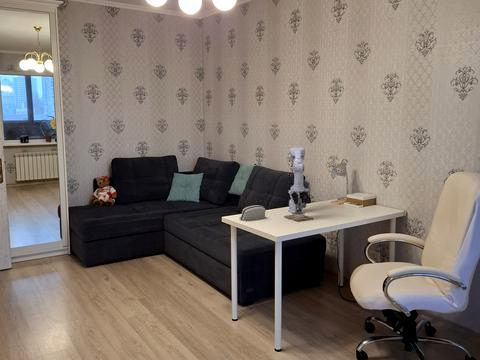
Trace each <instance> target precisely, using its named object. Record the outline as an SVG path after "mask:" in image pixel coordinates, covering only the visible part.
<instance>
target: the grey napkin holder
mask: <svg viewBox="0 0 480 360" xmlns="http://www.w3.org/2000/svg"><path fill="white" fill-rule="evenodd" d="M265 218H266V208H265V207H264V206H263V205H258V204H257V205H250V206H246V207H244V208H243V209H242V211H241V215H240V216H239V219H241V221H242V222H245V220H247V221H253V219H254V220H258V219H265Z"/></svg>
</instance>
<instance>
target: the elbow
mask: <svg viewBox="0 0 480 360" xmlns="http://www.w3.org/2000/svg"><path fill="white" fill-rule="evenodd" d="M306 207H307V203H305V202H303V203H302V198H298V201H297V205H296V204H295V211H296V212H302V208H303V209H306Z"/></svg>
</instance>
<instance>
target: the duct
mask: <svg viewBox="0 0 480 360" xmlns="http://www.w3.org/2000/svg"><path fill="white" fill-rule="evenodd" d="M291 213H292V214H290V215H289V214H288V215H284V216H283V217H284V219H287V220H290V221H293V222H298V223H300V222H306V221H312V220H314V217H312V216H307V215H306V212H291Z"/></svg>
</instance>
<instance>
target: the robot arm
mask: <svg viewBox="0 0 480 360" xmlns="http://www.w3.org/2000/svg"><path fill="white" fill-rule="evenodd" d="M289 152H290V153H289V154H290V155H289V156H290V161H292V162H293V175H294V176H293V178H294V179H293V185H292V186H290V190H289V189H288V194H289V198H290V199H289V201H288V209H289V210H288V212H290V213H293V212H296V211H295V204H296V205H297V201H298V198H302V203H304V201H305V198H306V195H307V193H308V192H309V190H310V189H309V188H306V187H304V173H305V164H304V160H305V158H306V148H305V147H304V146H303V147H290V151H289ZM302 212H304V213H306V211H304V208H302Z"/></svg>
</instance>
